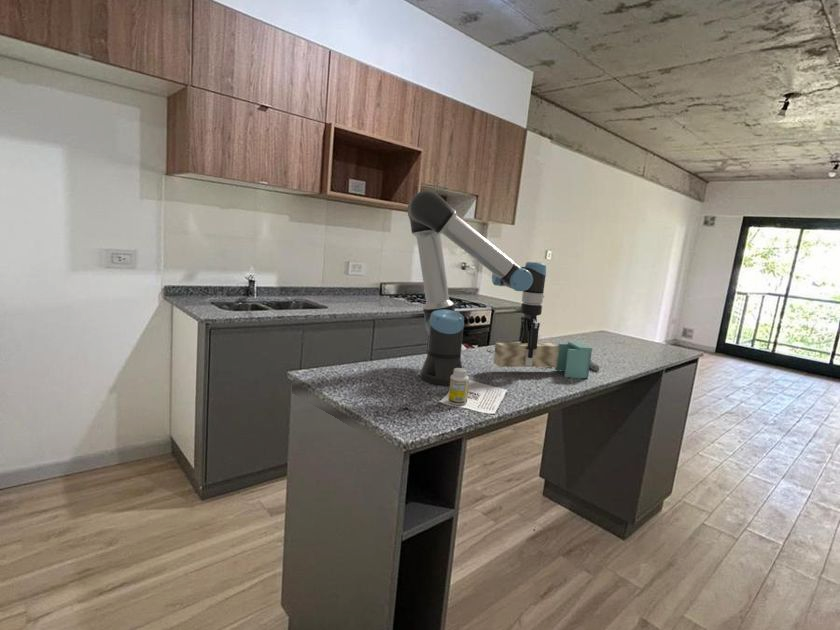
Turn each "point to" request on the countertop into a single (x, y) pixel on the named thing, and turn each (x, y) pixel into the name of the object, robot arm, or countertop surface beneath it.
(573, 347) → the end cap
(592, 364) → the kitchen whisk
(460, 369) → the supplement bottle
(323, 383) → the countertop surface
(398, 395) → the countertop surface
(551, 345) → the beige zigzag patterned block
